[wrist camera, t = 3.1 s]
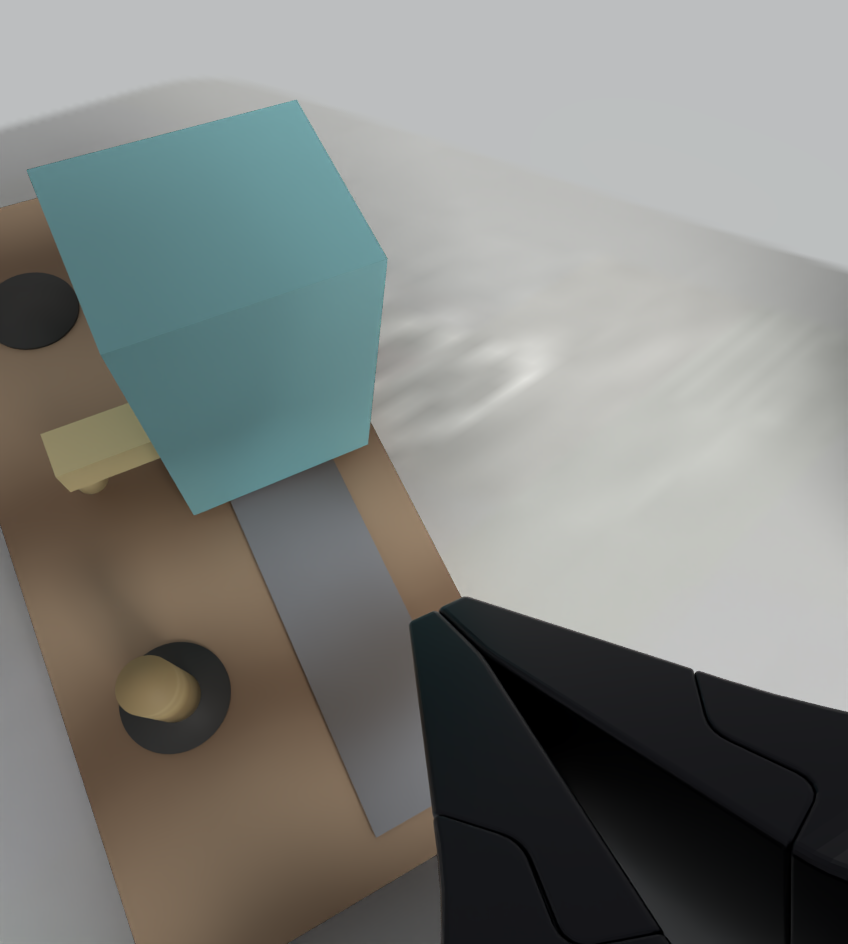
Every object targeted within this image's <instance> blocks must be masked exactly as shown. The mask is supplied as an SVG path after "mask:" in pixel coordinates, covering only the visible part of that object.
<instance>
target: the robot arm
mask: <svg viewBox="0 0 848 944" xmlns="http://www.w3.org/2000/svg"><path fill="white" fill-rule="evenodd" d="M409 631H410V639H411V647H412V655H413V663H414V671H415V679H416V687H417V695H418V703H419V711H420V719H421V726H422V734H423V742H424V750H425V758H426V766H427V774H428V782H429V790H430V798H431V806H432V814H433V818H434V820H433V825H434V833H435V841H436V848H437V859H438V871H439V882H440V899H441V944H848V712H846V711H841V710H837V709H833V708H828V707H824V706H820V705H816V704H812V703H808V702H804V701H800V700H797V699H793V698H789V697H785V696H781V695H777V694H773V693H770V692H766V691H763V690H759V689H756V688H753V687H749V686H746V685H743V684H739V683H736V682H732V681H729V680H726V679H723V678H720V677H717V676H713V675H710V674H707V673H704V672H701V671H697V672H696V673H695V674H694V671H693V670H692V669H691V668H688V667H685V666H682V665H679V664H675V663H672V662H669V661H666V660H663V659H660V658H657V657H654V656H651V655H648V654H644V653H641V652H638V651H635V650H632V649H629V648H626V647H623V646H620V645H616V644H613V643H610V642H607V641H604V640H601V639H598V638H595V637H592V636H589V635H585V634H582V633H579V632H576V631H573V630H570V629H567V628H564V627H561V626H557V625H554V624H551V623H548V622H545V621H542V620H539V619H536V618H533V617H530V616H526V615H523V614H520V613H517V612H514V611H511V610H508V609H505V608H502V607H498V606H495V605H492V604H489V603H486V602H483V601H480V600H477V599H474V598H470V597H461V598H459V599H457V600H455V601H453V602H451V603H449V604H446V605H444V606H442V607H441V608H440V609H439V612H438V611H432V612H429V613H427V614H425V615H423V616H421V617H419V618H417V619H414V620H412V621H411V622H410V624H409Z"/></svg>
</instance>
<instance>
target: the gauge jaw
mask: <svg viewBox="0 0 848 944" xmlns="http://www.w3.org/2000/svg"><path fill="white" fill-rule="evenodd" d="M27 172H28V175H29V177H30V180H31V183H32V185H33V188H34V190H35V193H36V195H37V198H38V200H39V203H40V205H41V208H42V210H43V213H44V215H45V218H46V220H47V223H48V225H49V228H50V230H51V233H52V235H53V238H54V240H55V243H56V245H57V248H58V250H59V253H60V255H61V258H62V260H63V263H64V265H65V268H66V270H67V273H68V275H69V278H70V280H71V283H72V285H73V288H74V290H75V293H76V295H77V298H78V300H79V303H80V305H81V308H82V310H83V313H84V315H85V318H86V320H87V323H88V325H89V328H90V330H91V333H92V335H93V338H94V340H95V343H96V345H97V348H98V350H99V353H100V355H101V357H102V359H103V360H104V362H105V364H106V365H107V367H108V369H109V371H110V372H111V374H112V376H113V377H114V379H115V381H116V383H117V384H118V386H119V388H120V389H121V391H122V393H123V395H124V396H125V398H126V400H127V401H128V403H126V404H124V405H121V406H118V407H115V408H112V409H110V410H107V411H104V412H101V413H98V414H96V415H93V416H90V417H87V418H84V419H82V420H79V421H76V422H73V423H70V424H68V425H65V426H62V427H59V428H56V429H54V430H51V431H48V432H45V433H42V434H40V435H41V437H42V440H43V443H44V446H45V449H46V452H47V454H48V457H49V460H50V463H51V466H52V468H53V471H54V474H55V477H56V478H57V479H58V480H59V481H60V482H61V483H62V484H63V485H64V486H65V487H66V488H67V489H68V490H69V491H70V492H73V491H75V490H78V489H79V490H80V491H81V492H83V493H85V494H95V493H98V492H100V491H102V490H103V489H104V488H105V487H106V485H107V483H108V478H109V477H112V476H114V475H117V474H120V473H122V472H125V471H128V470H130V469H133V468H135V467H138V466H141V465H143V464H146V463H148V462H151V461H154V460H156V459H159V458H161V460H162V462H163V463H164V465H165V467H166V468H167V470H168V472H169V474H170V475H171V477H172V479H173V480H174V482H175V484H176V486H177V487H178V489H179V491H180V493H181V494H182V496H183V498H184V499H185V501H186V503H187V505H188V506H189V508H190V510H191V511H192V513H193V515H197V514H199V513H202V512H204V511H207V510H209V509H211V508H214V507H216V506H219V505H221V504H224V503H226V502H229V501H231V500H233V499H236V498H238V497H241V496H243V495H246V494H248V493H251V492H253V491H255V490H258V489H260V488H263V487H265V486H268V485H270V484H273V483H275V482H277V481H280V480H282V479H285V478H287V477H290V476H292V475H295V474H297V473H299V472H302V471H304V470H307V469H309V468H312V467H314V466H317V465H319V464H321V463H324V462H326V461H329V460H331V459H334V458H336V457H339V456H341V455H343V454H346V453H348V452H351V451H353V450H356V449H358V448H361V447H363V446H365V445H368V439H369V430H370V420H371V411H372V401H373V392H374V382H375V373H376V363H377V354H378V344H379V335H380V325H381V316H382V306H383V297H384V287H385V278H386V268H387V257H386V255H385V254H384V252H383V250H382V248H381V247H380V245H379V243H378V241H377V240H376V238H375V236H374V234H373V233H372V231H371V229H370V227H369V226H368V224H367V222H366V220H365V219H364V217H363V215H362V213H361V212H360V210H359V208H358V206H357V205H356V203H355V201H354V199H353V198H352V196H351V194H350V192H349V191H348V189H347V187H346V185H345V184H344V182H343V180H342V178H341V177H340V175H339V173H338V171H337V170H336V168H335V166H334V164H333V163H332V161H331V159H330V157H329V156H328V154H327V152H326V150H325V149H324V147H323V145H322V143H321V142H320V140H319V138H318V136H317V135H316V133H315V131H314V129H313V128H312V126H311V124H310V122H309V121H308V119H307V117H306V115H305V114H304V112H303V110H302V108H301V107H300V105H299V103H298V101H297V100H294V101H290V102H286V103H282V104H278V105H274V106H271V107H267V108H263V109H259V110H255V111H251V112H247V113H244V114H240V115H236V116H232V117H228V118H224V119H220V120H217V121H213V122H209V123H205V124H201V125H197V126H193V127H190V128H186V129H182V130H178V131H174V132H170V133H167V134H163V135H159V136H155V137H151V138H147V139H143V140H140V141H136V142H132V143H128V144H124V145H120V146H116V147H113V148H109V149H105V150H101V151H97V152H93V153H89V154H86V155H82V156H78V157H74V158H70V159H66V160H63V161H59V162H55V163H51V164H47V165H43V166H39V167H36V168H32V169H28V170H27Z"/></svg>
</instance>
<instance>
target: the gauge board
mask: <svg viewBox="0 0 848 944" xmlns="http://www.w3.org/2000/svg"><path fill="white" fill-rule="evenodd" d="M126 403H128V401H127V400H126V398H125V396H124V395H123V393H122V391H121V389H120V388H119V386H118V384H117V383H116V381H115V379H114V377H113V376H112V374H111V372H110V371H109V369H108V367H107V365H106V364H105V362H104V360H103V359H102V357H101V355H100V353H99V350H98V348H97V345H96V343H95V340H94V338H93V335H92V333H91V330H90V328H89V325H88V323H87V320H86V318H85V315H84V313H83V310H82V308H81V305H80V303H79V300H78V298H77V295H76V293H75V290H74V288H73V285H72V283H71V280H70V278H69V275H68V273H67V270H66V268H65V265H64V263H63V260H62V258H61V255H60V253H59V250H58V248H57V245H56V243H55V240H54V238H53V235H52V233H51V230H50V228H49V225H48V223H47V220H46V218H45V215H44V213H43V210H42V208H41V205H40V203H39V200H38V198H35V199H32V200H28V201H24V202H21V203H17V204H13V205H9V206H6V207H2V208H0V525H1V528H2V531H3V534H4V538H5V541H6V544H7V547H8V550H9V553H10V556H11V559H12V562H13V566H14V569H15V572H16V575H17V578H18V581H19V584H20V587H21V590H22V593H23V597H24V600H25V603H26V606H27V609H28V612H29V615H30V618H31V621H32V625H33V628H34V631H35V634H36V637H37V640H38V643H39V646H40V649H41V652H42V656H43V659H44V662H45V665H46V668H47V671H48V674H49V677H50V680H51V684H52V687H53V690H54V693H55V696H56V699H57V702H58V705H59V708H60V711H61V715H62V718H63V721H64V724H65V727H66V730H67V733H68V736H69V739H70V743H71V746H72V749H73V752H74V755H75V758H76V761H77V764H78V767H79V770H80V774H81V777H82V780H83V783H84V786H85V789H86V792H87V795H88V798H89V802H90V805H91V808H92V811H93V814H94V817H95V820H96V823H97V826H98V829H99V833H100V836H101V839H102V842H103V845H104V848H105V851H106V854H107V857H108V861H109V864H110V867H111V870H112V873H113V876H114V879H115V882H116V885H117V889H118V892H119V895H120V898H121V901H122V904H123V907H124V910H125V913H126V916H127V920H128V923H129V926H130V929H131V932H132V935H133V938H134V941H135V944H288V943H289V942H291V941H293V940H294V939H296V938H298V937H299V936H301V935H303V934H304V933H306V932H308V931H310V930H311V929H313V928H315V927H316V926H318V925H320V924H321V923H323V922H325V921H326V920H328V919H330V918H331V917H333V916H335V915H336V914H338V913H340V912H341V911H343V910H345V909H346V908H348V907H350V906H352V905H353V904H355V903H357V902H358V901H360V900H362V899H363V898H365V897H367V896H368V895H370V894H372V893H373V892H375V891H377V890H378V889H380V888H382V887H383V886H385V885H387V884H389V883H390V882H392V881H394V880H395V879H397V878H399V877H400V876H402V875H404V874H405V873H407V872H409V871H410V870H412V869H414V868H415V867H417V866H419V865H420V864H422V863H424V862H426V861H427V860H429V859H431V858H432V857H434V856H436V855H437V848H436V841H435V833H434V825H433V820H434V818H433V814H432V806H431V798H430V790H429V782H428V774H427V766H426V758H425V750H424V742H423V734H422V726H421V719H420V711H419V703H418V695H417V687H416V679H415V671H414V663H413V655H412V647H411V639H410V631H409V624H410V622H411V621H412V620H414V619H417V618H419V617H421V616H423V615H425V614H427V613H429V612H432V611H438V612H439V609H440V608H441V607H442V606H444V605H446V604H449V603H451V602H453V601H455V600H457V599H459V598H461V596H460V594H459V592H458V590H457V588H456V586H455V584H454V582H453V580H452V578H451V576H450V574H449V572H448V570H447V569H446V567H445V565H444V563H443V561H442V559H441V557H440V555H439V553H438V551H437V549H436V547H435V545H434V543H433V541H432V540H431V538H430V536H429V534H428V532H427V530H426V528H425V526H424V524H423V522H422V520H421V518H420V516H419V514H418V513H417V511H416V509H415V507H414V505H413V503H412V501H411V499H410V497H409V495H408V493H407V491H406V489H405V487H404V485H403V484H402V482H401V480H400V478H399V476H398V474H397V472H396V470H395V468H394V466H393V464H392V462H391V460H390V458H389V457H388V455H387V453H386V451H385V449H384V447H383V445H382V443H381V441H380V439H379V437H378V435H377V433H376V431H375V429H374V428H373V426H372V424H371V422H370V430H369V439H368V445H365V446H363V447H361V448H358V449H356V450H353V451H351V452H348V453H346V454H343V455H341V456H339V457H336V458H334V459H331V460H329V461H326V462H324V463H321V464H319V465H317V466H314V467H312V468H309V469H307V470H304V471H302V472H299V473H297V474H295V475H292V476H290V477H287V478H285V479H282V480H280V481H277V482H275V483H273V484H270V485H268V486H265V487H263V488H260V489H258V490H255V491H253V492H251V493H248V494H246V495H243V496H241V497H238V498H236V499H233V500H231V501H229V502H226V503H224V504H221V505H219V506H216V507H214V508H211V509H209V510H207V511H204V512H202V513H199V514H197V515H193V513H192V511H191V510H190V508H189V506H188V505H187V503H186V501H185V499H184V498H183V496H182V494H181V493H180V491H179V489H178V487H177V486H176V484H175V482H174V480H173V479H172V477H171V475H170V474H169V472H168V470H167V468H166V467H165V465H164V463H163V462H162V460H161V458H159V459H156V460H154V461H151V462H148V463H146V464H143V465H141V466H138V467H135V468H133V469H130V470H128V471H125V472H122V473H120V474H117V475H114V476H112V477H109V478H108V483H107V485H106V487H105V488H104V489H103V490H102V491H100V492H98V493H95V494H85V493H83V492H81V491H80V490H79V489H78V490H75V491H73V492H70V491H69V490H68V489H67V488H66V487H65V486H64V485H63V484H62V483H61V482H60V481H59V480H58V479H57V478H56V477H55V474H54V471H53V468H52V466H51V463H50V460H49V457H48V454H47V452H46V449H45V446H44V443H43V440H42V437H41V435H40V434H42V433H45V432H48V431H51V430H54V429H56V428H59V427H62V426H65V425H68V424H70V423H73V422H76V421H79V420H82V419H84V418H87V417H90V416H93V415H96V414H98V413H101V412H104V411H107V410H110V409H112V408H115V407H118V406H121V405H124V404H126Z"/></svg>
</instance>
